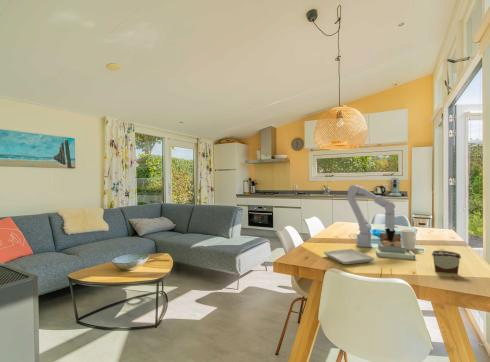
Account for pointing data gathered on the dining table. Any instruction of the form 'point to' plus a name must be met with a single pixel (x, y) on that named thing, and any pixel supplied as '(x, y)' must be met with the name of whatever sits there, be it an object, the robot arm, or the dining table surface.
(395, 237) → the long brown wooden post
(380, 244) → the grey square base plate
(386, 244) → the tile
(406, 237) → the mug
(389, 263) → the dining table surface
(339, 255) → the salad plate
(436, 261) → the food container
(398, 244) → the tile
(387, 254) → the tray
